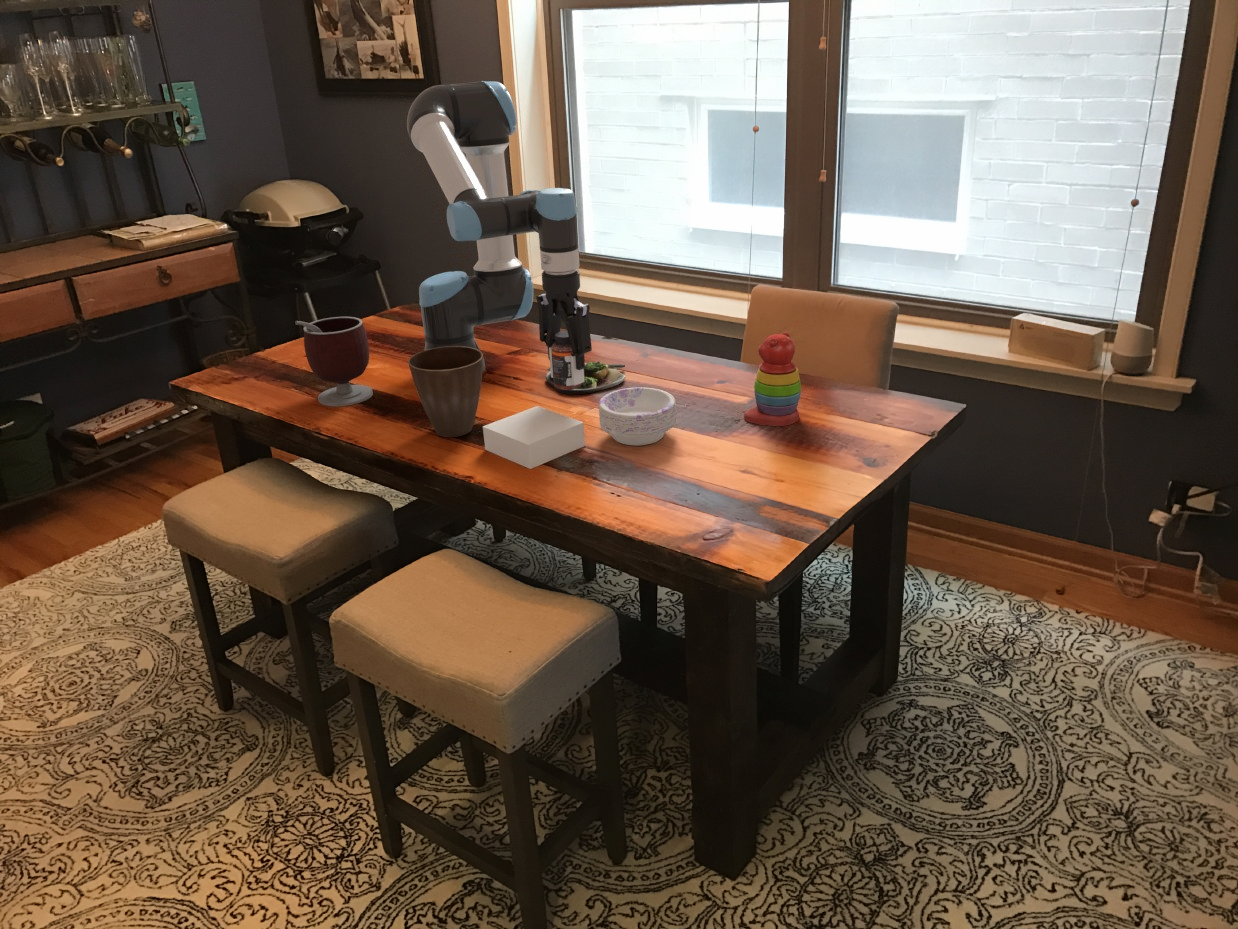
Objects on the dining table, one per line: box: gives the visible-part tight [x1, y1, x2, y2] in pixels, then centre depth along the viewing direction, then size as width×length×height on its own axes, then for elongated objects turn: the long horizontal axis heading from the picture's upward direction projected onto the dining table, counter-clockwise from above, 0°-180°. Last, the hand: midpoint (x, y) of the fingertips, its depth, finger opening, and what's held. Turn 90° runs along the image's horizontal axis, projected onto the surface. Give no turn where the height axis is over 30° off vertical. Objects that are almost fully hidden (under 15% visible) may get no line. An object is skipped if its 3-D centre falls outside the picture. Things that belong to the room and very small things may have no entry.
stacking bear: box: [743, 331, 802, 427], centre depth 199 cm, size 11×10×18 cm
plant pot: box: [407, 346, 484, 438], centre depth 202 cm, size 15×15×16 cm
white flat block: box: [482, 405, 586, 470], centre depth 194 cm, size 14×14×5 cm
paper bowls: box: [598, 386, 677, 447], centre depth 196 cm, size 15×15×8 cm
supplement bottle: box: [551, 330, 582, 390], centre depth 203 cm, size 6×6×11 cm
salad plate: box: [545, 360, 626, 396], centre depth 229 cm, size 19×18×5 cm
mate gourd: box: [294, 316, 374, 407], centre depth 222 cm, size 16×14×20 cm
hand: (567, 379), depth 205 cm, fingers closed on supplement bottle, 6 cm apart
